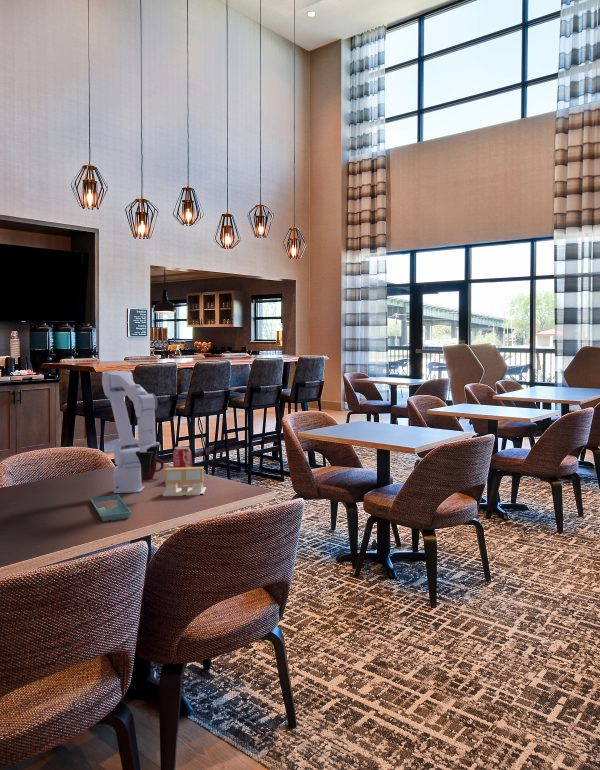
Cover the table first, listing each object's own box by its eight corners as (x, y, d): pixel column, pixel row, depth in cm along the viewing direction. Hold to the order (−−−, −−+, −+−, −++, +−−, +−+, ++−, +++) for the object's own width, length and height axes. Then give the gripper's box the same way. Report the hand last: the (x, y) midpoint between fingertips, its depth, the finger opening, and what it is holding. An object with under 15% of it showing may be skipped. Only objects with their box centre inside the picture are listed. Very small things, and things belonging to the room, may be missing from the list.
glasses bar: (165, 484, 218) (164, 469, 218) (166, 482, 222) (166, 468, 221) (202, 482, 219) (202, 468, 219) (203, 480, 222) (203, 466, 222)
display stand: (162, 496, 216) (162, 486, 215) (167, 490, 225) (166, 480, 224) (203, 494, 216) (203, 484, 216) (206, 488, 225) (206, 478, 225)
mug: (165, 475, 250) (164, 450, 249) (162, 479, 242) (161, 454, 241) (138, 476, 249) (137, 451, 249) (135, 480, 241) (134, 455, 241)
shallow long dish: (90, 504, 210) (89, 496, 209) (118, 500, 213) (118, 493, 213) (100, 524, 186) (100, 516, 186) (132, 519, 190) (131, 511, 190)
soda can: (194, 475, 247) (193, 445, 247) (189, 479, 240) (188, 448, 240) (177, 475, 248) (175, 445, 247) (171, 480, 241) (170, 449, 240)
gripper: (154, 432, 204) (156, 473, 205) (162, 426, 219) (164, 465, 220) (132, 433, 204) (134, 474, 205) (141, 427, 218) (143, 465, 219)
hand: (148, 469), depth 212 cm, fingers open, 7 cm apart
